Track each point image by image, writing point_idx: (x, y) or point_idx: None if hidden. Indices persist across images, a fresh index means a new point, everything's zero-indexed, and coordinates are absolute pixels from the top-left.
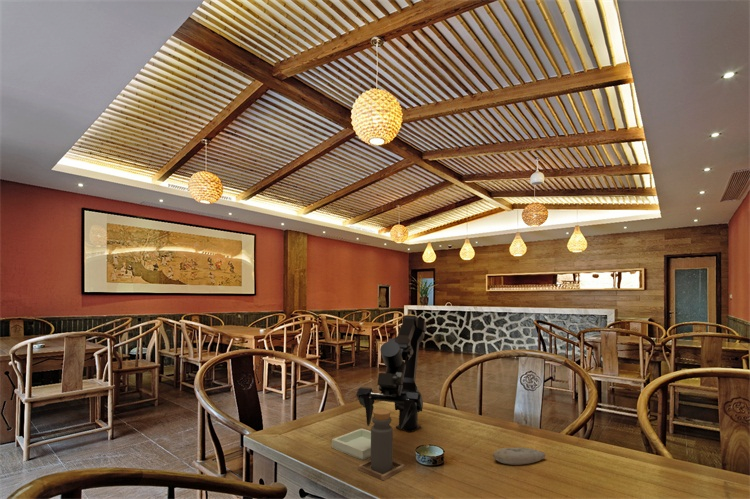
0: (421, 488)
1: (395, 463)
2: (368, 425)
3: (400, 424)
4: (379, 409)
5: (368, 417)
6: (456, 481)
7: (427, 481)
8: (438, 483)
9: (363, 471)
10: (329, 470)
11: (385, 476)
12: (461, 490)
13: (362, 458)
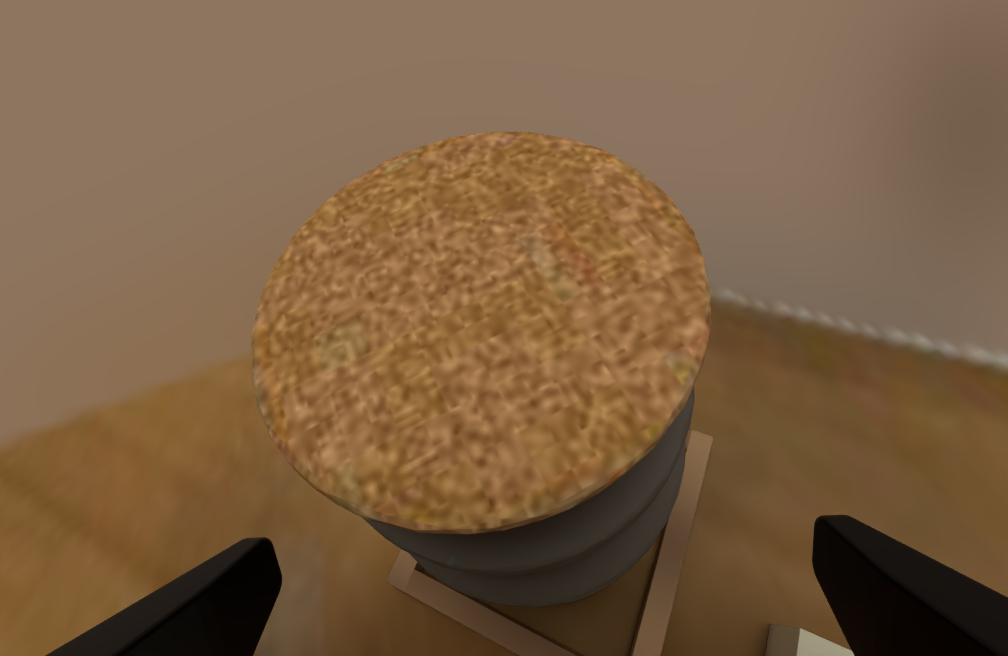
0: None
1: (466, 597)
2: (815, 549)
3: (224, 560)
4: (584, 398)
5: (920, 581)
6: (98, 513)
7: (257, 453)
8: (201, 452)
9: None
10: (876, 367)
11: None
12: (104, 422)
13: (778, 627)
